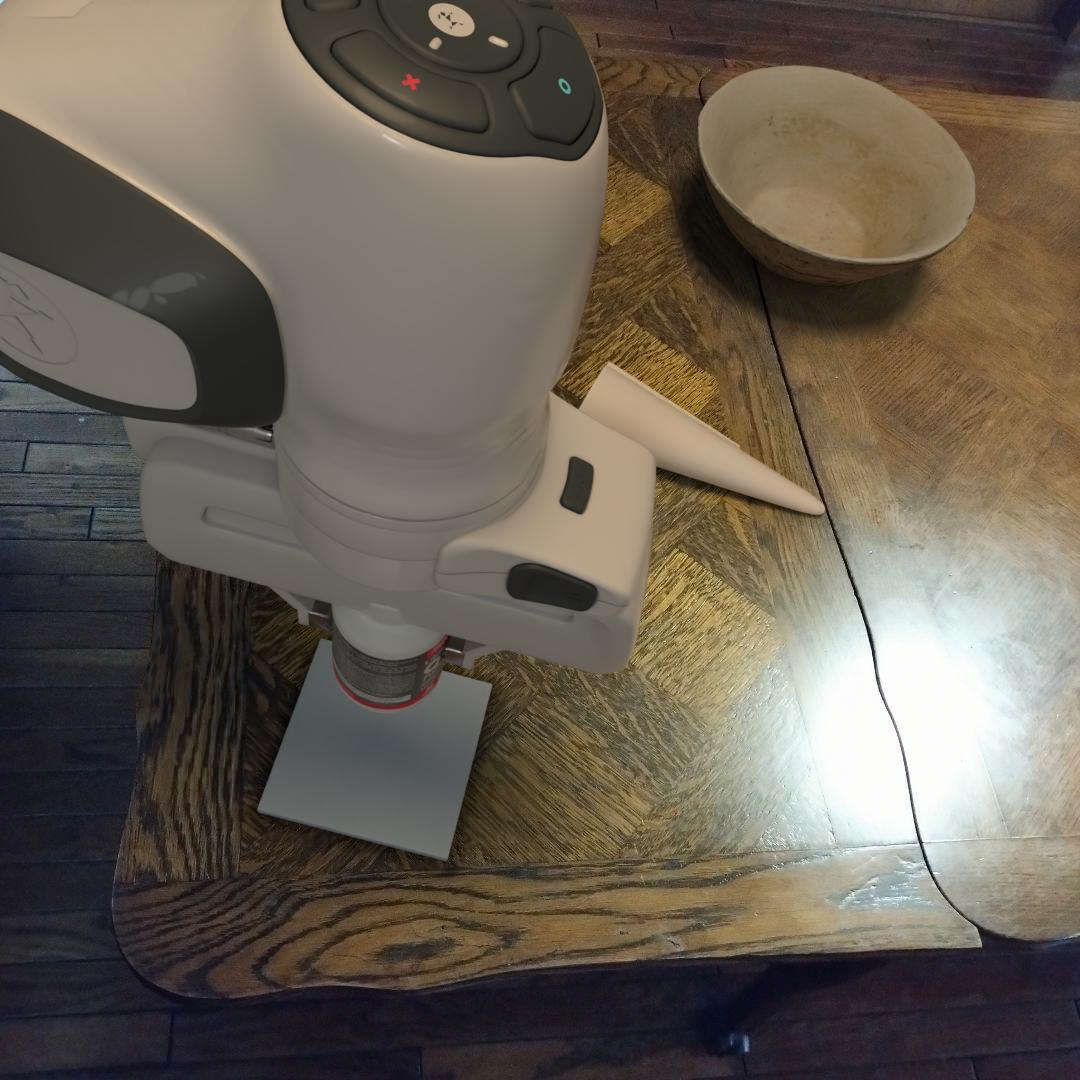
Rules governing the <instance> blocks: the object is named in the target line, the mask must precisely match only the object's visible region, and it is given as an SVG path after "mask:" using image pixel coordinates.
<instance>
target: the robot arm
mask: <svg viewBox="0 0 1080 1080" xmlns="http://www.w3.org/2000/svg"><path fill="white" fill-rule="evenodd" d="M608 125H609V124H608V115H607V108H606V102H605V96H604V92H603V89H602V86H601V82H600V78H599V75H598V72H597V70H596V67H595V64H594V62H593V59H592V58H591V55H590V53H589V52H588V49H587V48H586V45H585V43H584V42H583V40H582V38H581V37H580V34H579V33H578V31H577V30H576V28H575V27H574V25H573V24H572V23H571V21H570V20H569V18H568V17H567V16H566V15H565V13H564V12H562V10H561V9H560V8H559V6H557V4H556V3H554V1H553V0H2V2H0V366H1V367H3V368H4V369H5V370H6V371H8V372H9V373H10V374H13V375H15V377H17V378H19V379H21V380H23V381H24V382H26V383H28V384H30V385H32V386H34V387H36V388H39V389H41V390H43V391H45V392H47V393H49V394H52V395H55V396H57V397H59V398H61V399H65V400H66V401H69V402H72V403H75V404H77V405H80V406H83V407H86V408H89V409H92V410H96V411H99V412H102V413H106V414H110V415H115V416H120V417H122V424H123V426H124V430H125V433H126V436H127V439H128V442H129V445H130V447H131V448H132V450H133V451H134V452H135V453H136V455H137V456H138V457H139V458H141V459H142V460H143V461H144V462H145V463H144V465H143V467H142V469H141V472H140V474H139V475H140V476H139V484H138V485H139V486H138V502H139V503H138V504H139V515H140V521H141V527H142V532H143V535H144V538H145V540H146V542H147V544H148V545H150V546H151V547H152V548H153V549H154V550H156V551H157V552H158V553H159V554H161V555H162V556H163V557H165V558H166V559H168V560H170V561H172V562H174V563H178V564H182V565H185V566H190V567H192V568H193V567H194V568H198V569H201V570H205V571H208V572H213V573H216V574H219V575H224V576H228V577H230V578H234V579H238V580H243V581H246V582H250V583H253V584H257V585H261V586H264V587H268V588H269V589H270V590H272V591H273V592H274V593H276V595H278V596H279V597H280V598H282V600H284V601H285V602H286V603H287V604H289V605H290V606H291V607H292V608H293V609H295V610H296V611H297V622H298V624H299V625H304V626H308V627H310V628H314V629H319V630H322V631H326V632H330V631H331V632H332V604H335V605H339V606H343V607H346V608H350V609H354V610H358V611H361V612H363V610H368V609H369V604H370V603H376V604H380V605H384V606H387V607H391V608H395V609H397V610H399V611H400V612H401V619H402V620H403V621H405V622H407V623H406V624H410V625H414V626H417V627H421V628H425V629H428V630H432V631H436V632H440V633H443V634H447V635H449V636H448V639H447V642H446V645H445V649H444V653H443V658H442V661H444V663H447V664H451V665H454V666H457V667H462V668H464V669H468V670H473V669H474V666H475V662H476V659H477V658H481V657H485V656H488V655H492V654H495V653H499V652H502V651H507V652H511V653H514V654H517V655H522V656H526V657H530V658H533V659H537V660H539V661H540V660H541V661H545V662H549V663H552V664H556V665H559V666H564V667H567V668H570V669H574V670H578V671H581V672H585V673H588V674H591V675H608V674H614V673H619V672H622V671H623V670H625V669H626V668H627V666H628V664H629V663H630V660H631V658H632V656H633V653H634V650H635V647H636V644H637V639H638V635H639V629H640V623H641V619H642V615H643V614H642V613H643V610H644V603H645V598H646V592H647V587H648V579H649V573H650V567H651V561H652V560H651V559H652V554H653V546H654V529H653V518H654V512H655V503H656V502H655V501H656V487H657V467H656V459H655V456H654V455H653V453H652V452H651V451H650V450H649V449H647V448H646V447H645V446H643V445H641V444H640V443H638V442H636V441H634V440H632V439H631V438H629V437H627V436H625V435H623V434H621V433H619V432H617V431H615V430H614V429H612V428H610V427H608V426H606V425H604V424H602V423H601V422H599V421H597V420H595V419H594V418H592V417H590V416H588V415H587V414H585V413H583V412H582V411H580V410H578V409H579V408H577V407H575V406H574V405H572V404H570V403H569V402H567V401H566V400H564V399H563V398H562V397H560V396H559V395H557V394H555V393H554V392H553V391H552V390H553V389H554V387H555V386H556V384H557V383H558V381H559V380H560V378H561V377H562V375H563V373H564V372H565V369H566V367H567V365H568V363H569V361H570V359H571V356H572V353H573V351H574V347H575V345H576V341H577V339H578V338H577V337H578V334H579V331H580V327H581V324H582V319H583V317H584V316H583V315H584V314H585V313H584V312H585V308H586V305H587V301H588V297H589V292H590V288H591V284H592V280H593V274H594V270H595V265H596V260H597V255H598V251H599V246H600V239H601V234H602V228H603V222H604V215H605V210H606V209H605V208H606V200H607V189H608V177H609V176H608V175H609V148H610V147H609V144H610V143H609V142H610V140H609V126H608Z"/></svg>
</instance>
